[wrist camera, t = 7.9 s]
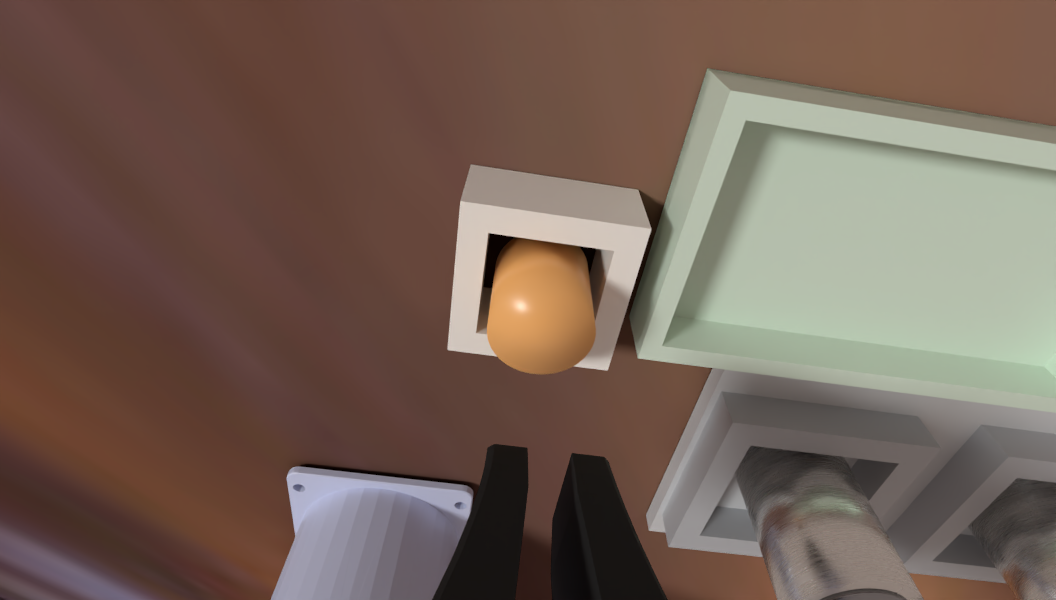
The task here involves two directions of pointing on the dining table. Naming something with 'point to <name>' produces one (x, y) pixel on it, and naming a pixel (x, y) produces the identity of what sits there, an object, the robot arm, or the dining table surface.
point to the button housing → (553, 217)
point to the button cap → (541, 306)
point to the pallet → (855, 463)
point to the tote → (857, 245)
